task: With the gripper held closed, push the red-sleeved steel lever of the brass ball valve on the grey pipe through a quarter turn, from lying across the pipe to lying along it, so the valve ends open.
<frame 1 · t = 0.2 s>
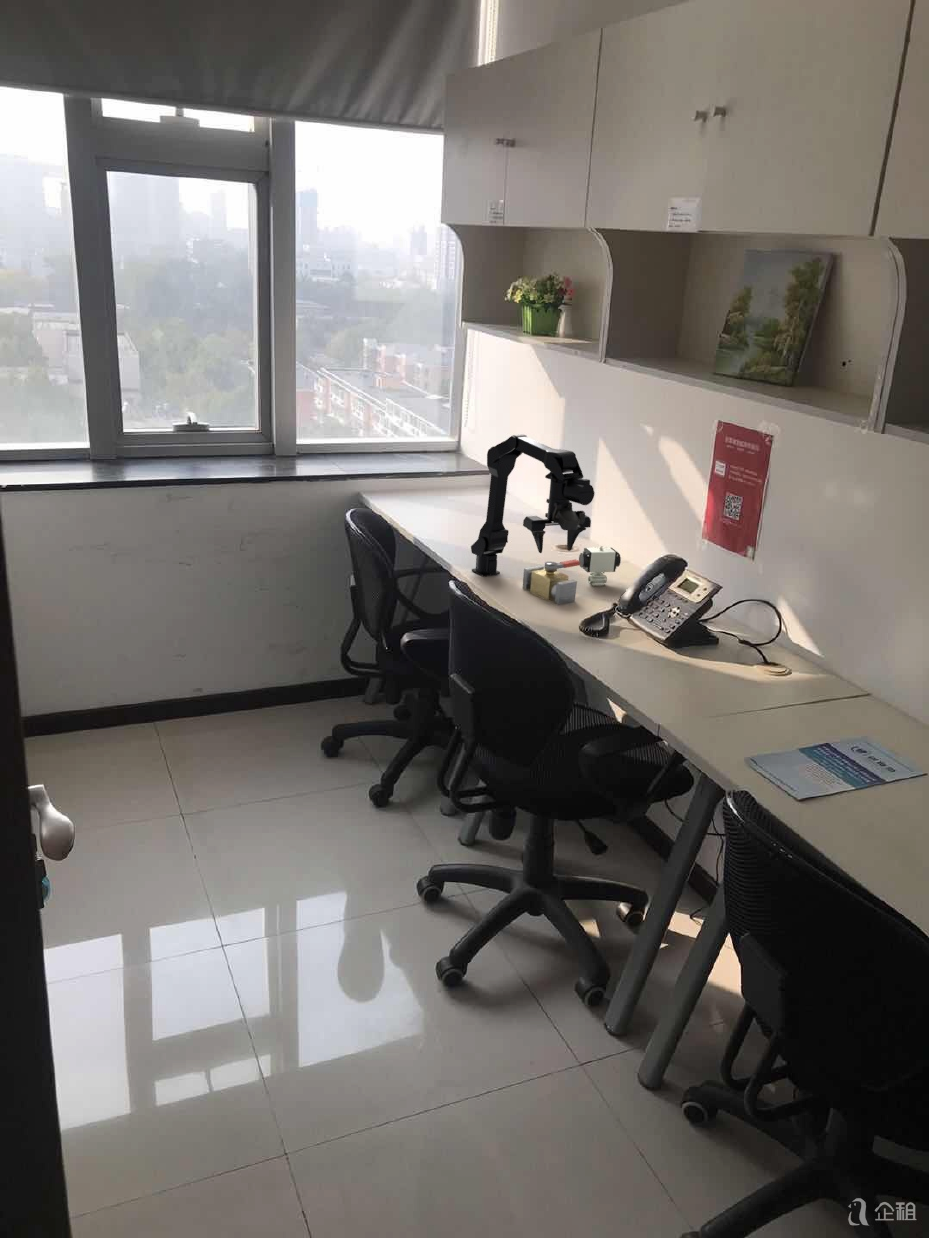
hand: (554, 551, 275), 15 cm above the table, tool pointing down, fingers open, 9 cm apart
lever: (562, 564, 284), point 9 cm above the table, hinge at 0.0°
valve pipe: (548, 594, 284), on the table
pneumatic valve: (596, 584, 296), on the table
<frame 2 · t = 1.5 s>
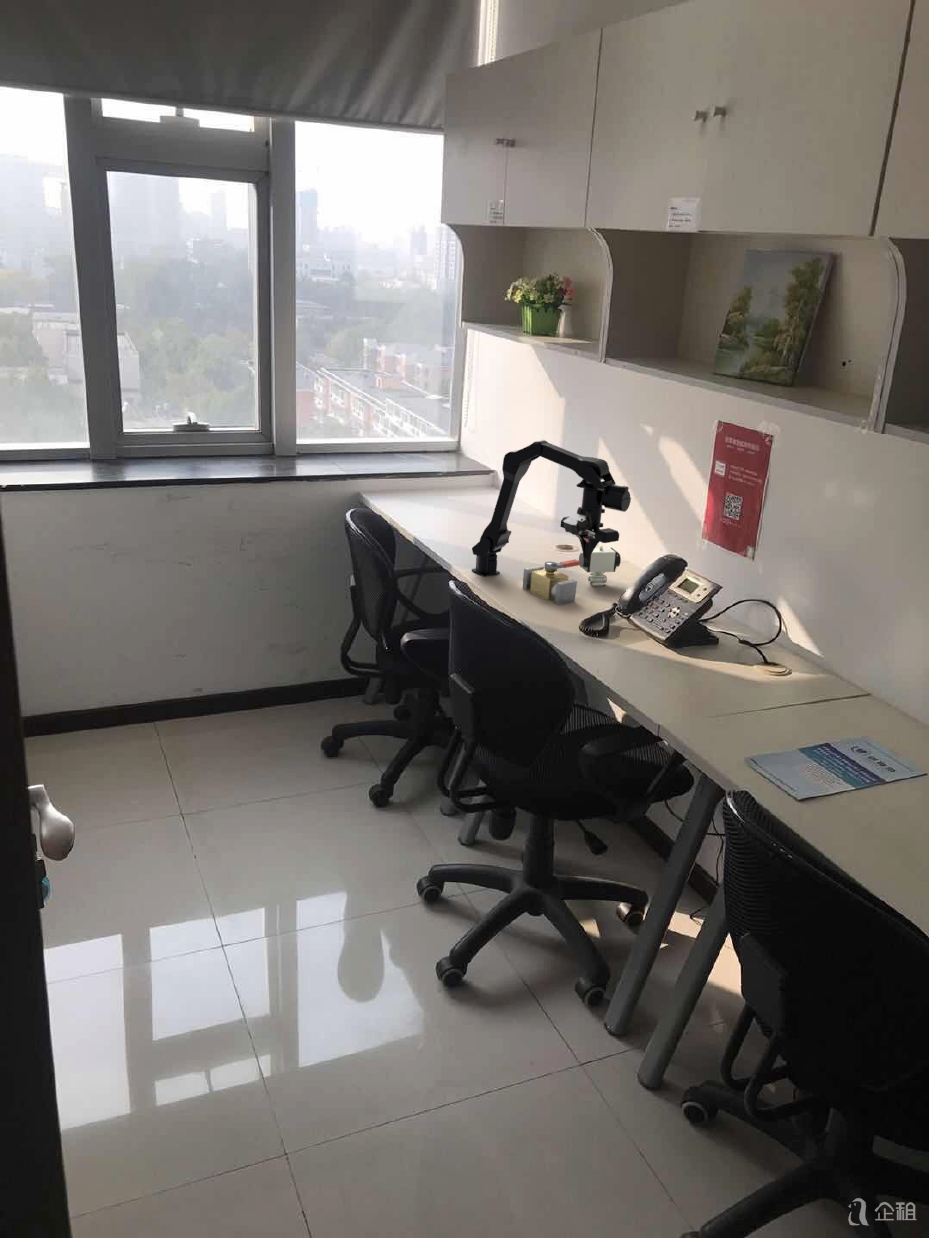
hand: (586, 558, 280), 12 cm above the table, tool pointing down, fingers closed
nothing on the table moved.
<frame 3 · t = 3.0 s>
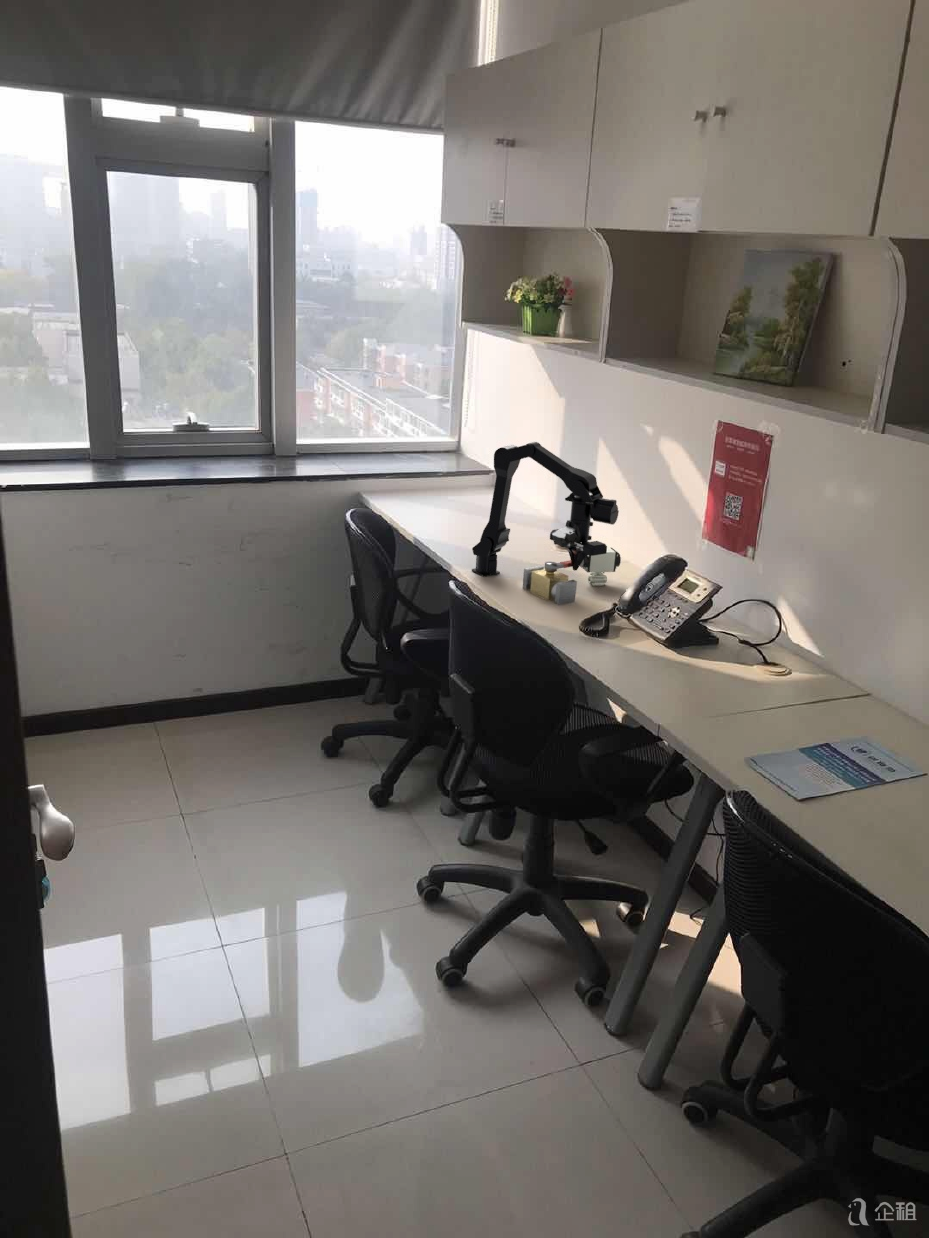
hand: (575, 570, 285), 7 cm above the table, tool pointing down, fingers closed
lever: (562, 564, 284), point 9 cm above the table, hinge at 0.1°, touching gripper
everything else where it was.
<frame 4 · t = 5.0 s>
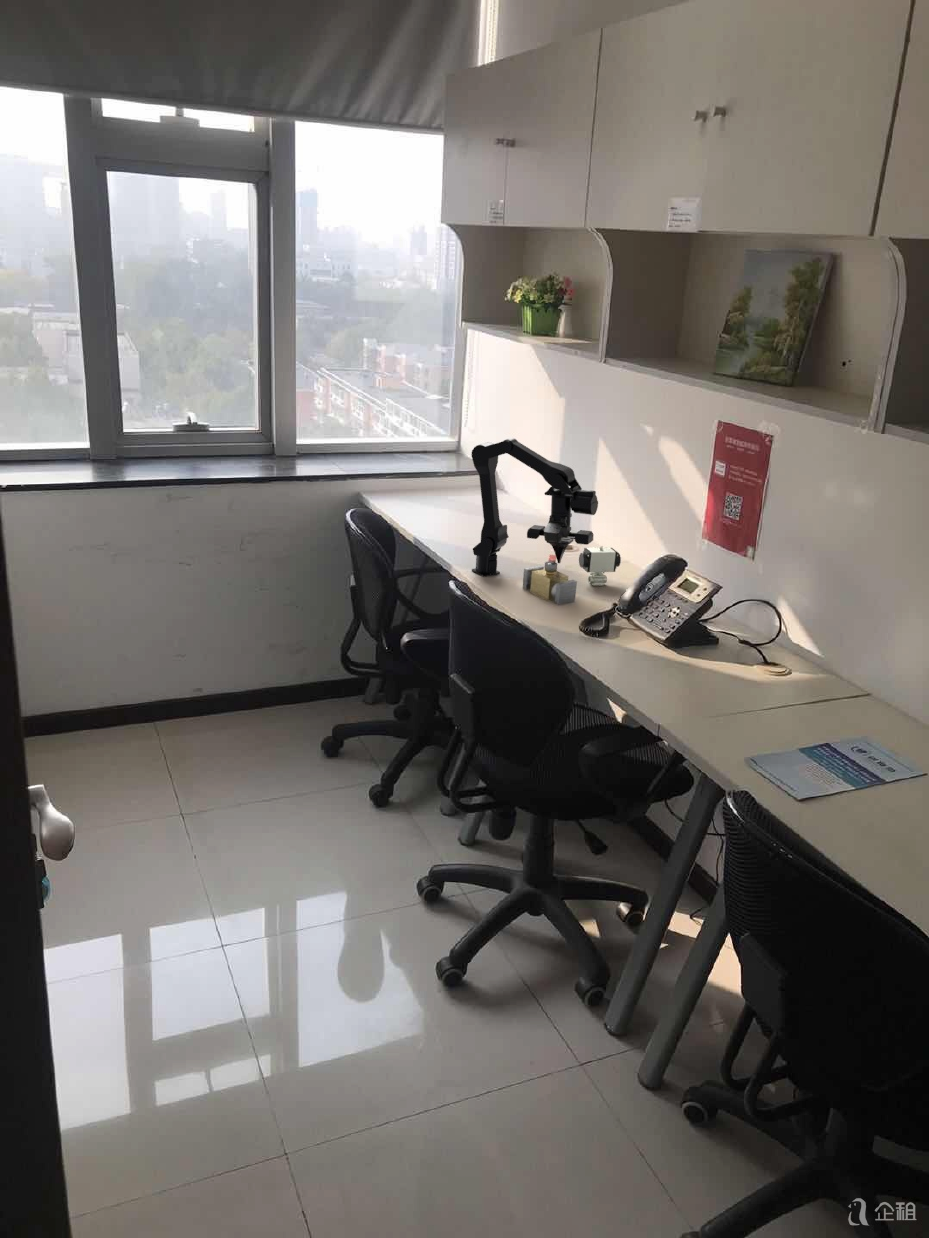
hand: (559, 563, 288), 8 cm above the table, tool pointing down, fingers closed
lever: (551, 562, 285), point 9 cm above the table, hinge at 46.0°, touching gripper
everything else where it was.
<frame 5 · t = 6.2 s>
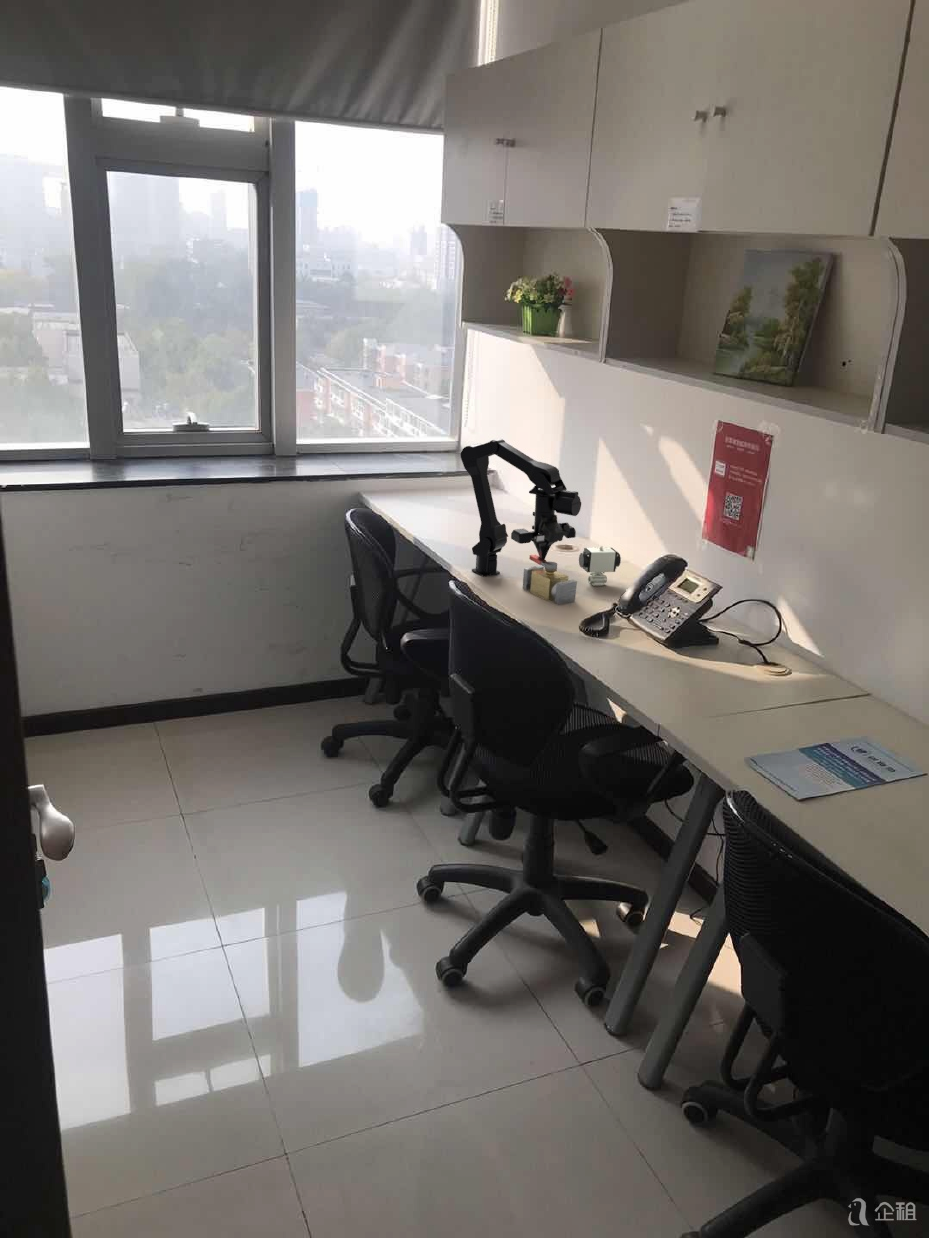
hand: (542, 561, 289), 8 cm above the table, tool pointing down, fingers closed
lever: (543, 562, 285), point 9 cm above the table, hinge at 81.4°, touching gripper
everything else where it was.
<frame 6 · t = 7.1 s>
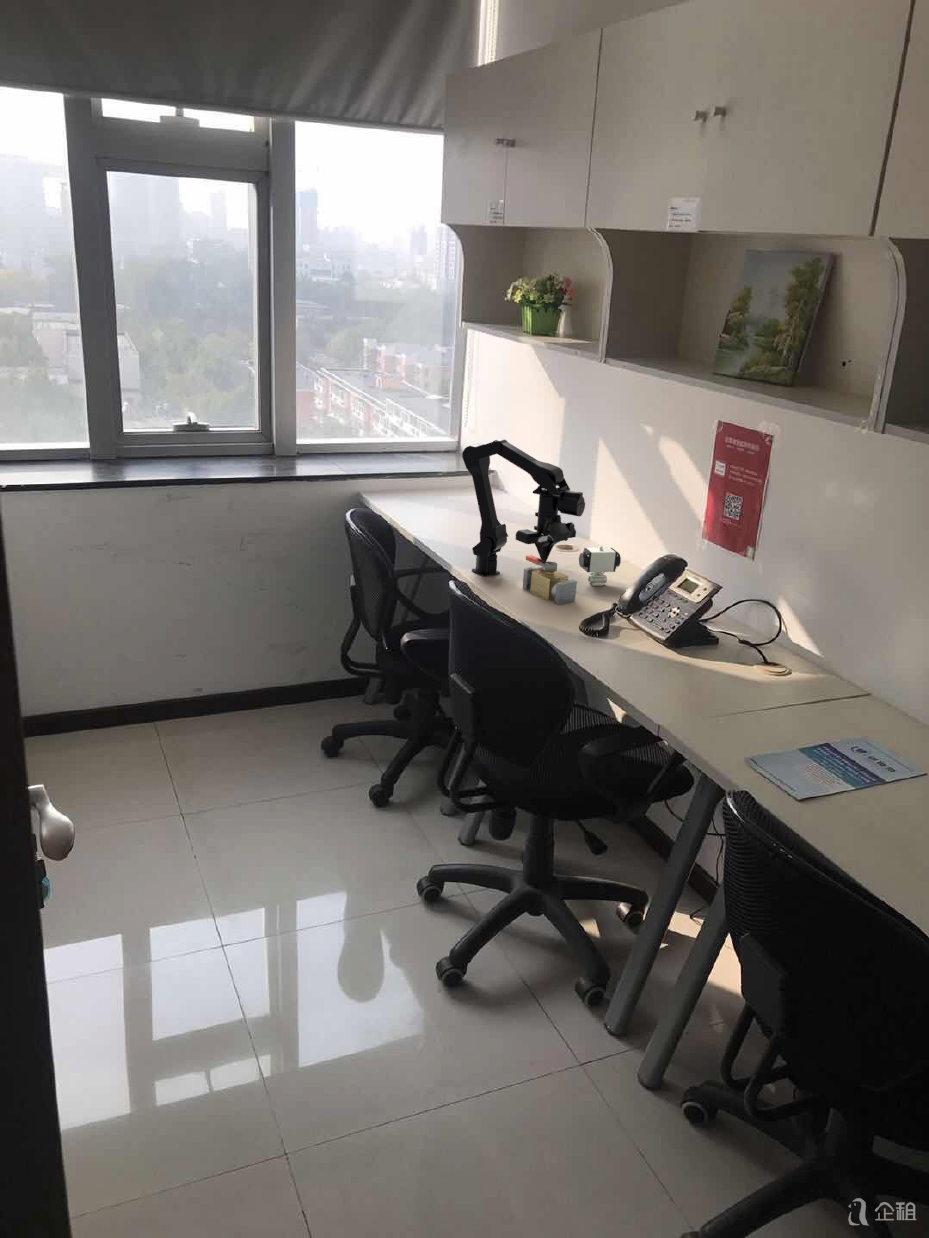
hand: (543, 561, 289), 7 cm above the table, tool pointing down, fingers closed
lever: (541, 562, 285), point 9 cm above the table, hinge at 89.5°
everything else where it was.
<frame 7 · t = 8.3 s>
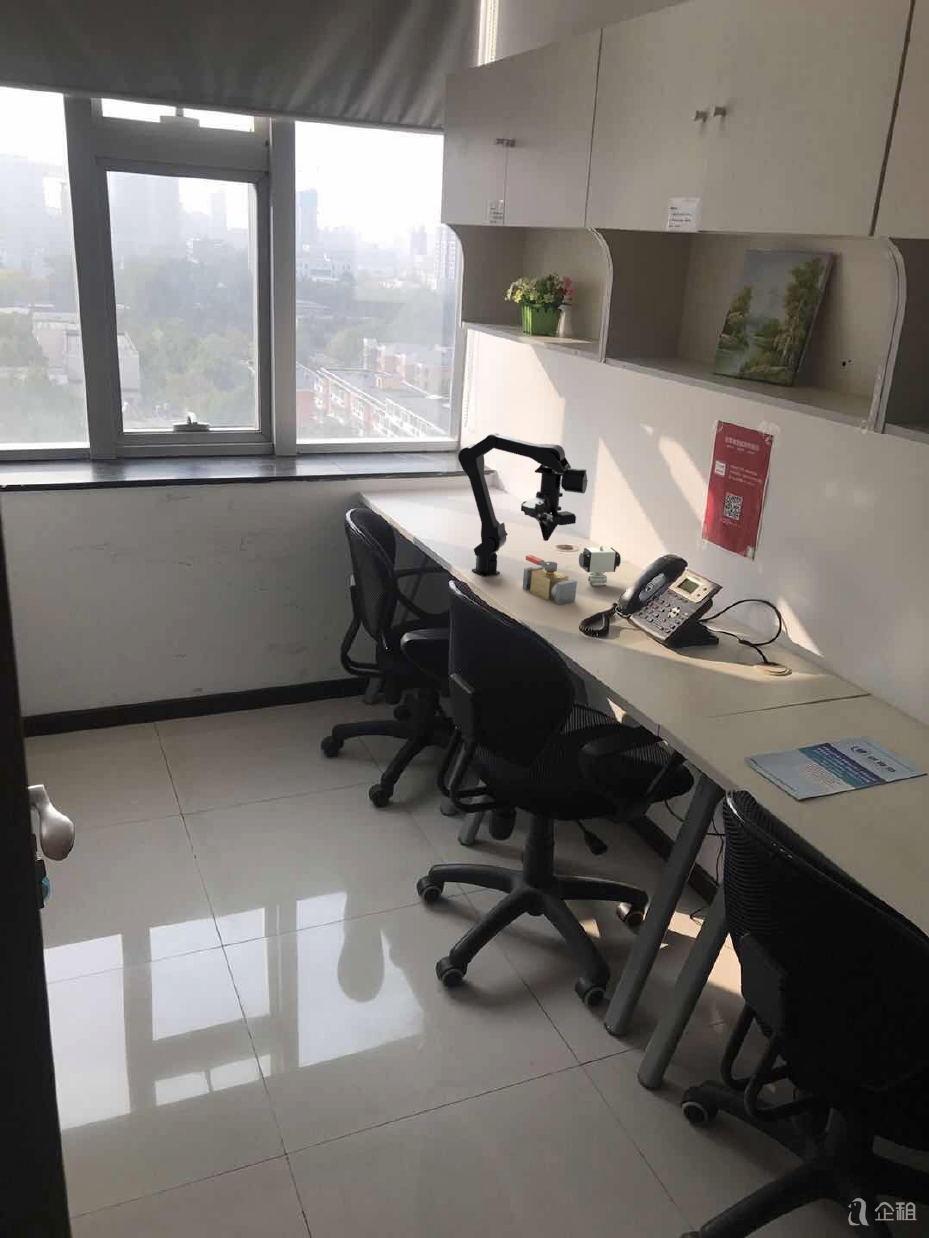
hand: (545, 540, 291), 13 cm above the table, tool pointing down, fingers closed
nothing on the table moved.
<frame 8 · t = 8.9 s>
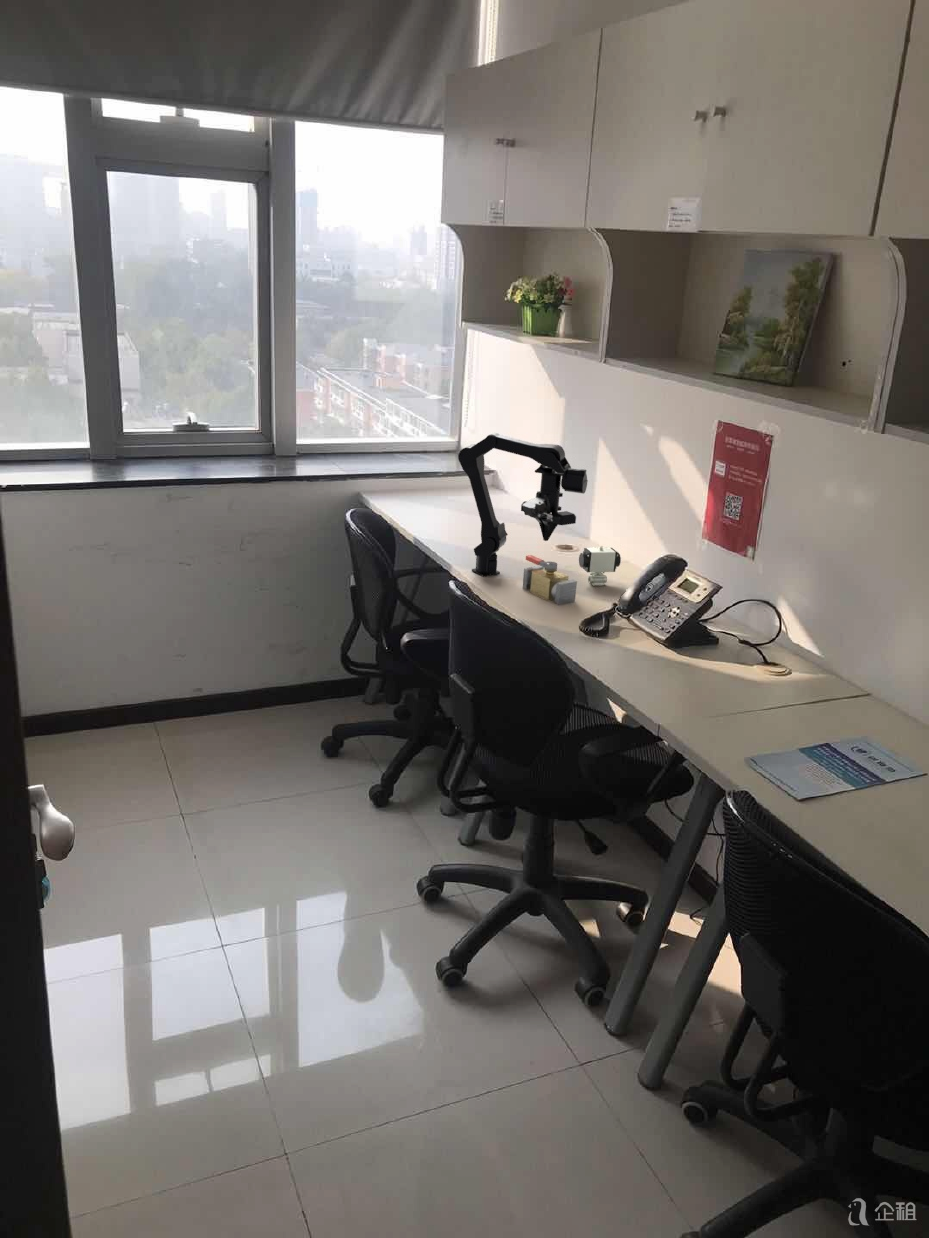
hand: (545, 540, 291), 13 cm above the table, tool pointing down, fingers closed
nothing on the table moved.
at the end: lever at +90° (first picture: +0°) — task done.
